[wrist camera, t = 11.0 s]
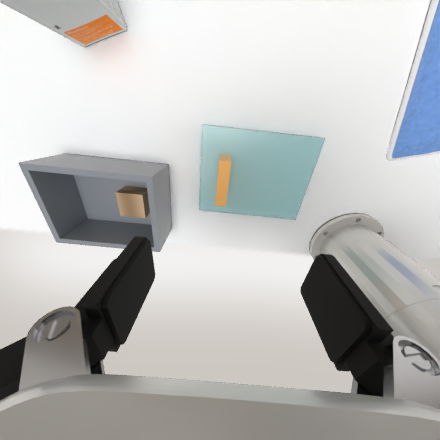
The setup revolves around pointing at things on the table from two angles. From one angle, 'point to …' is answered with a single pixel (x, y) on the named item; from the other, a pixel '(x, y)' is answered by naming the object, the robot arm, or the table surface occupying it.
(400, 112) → the tablet computer
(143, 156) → the table surface
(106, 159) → the tub
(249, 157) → the lid
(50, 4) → the skincare box
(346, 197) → the table surface
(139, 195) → the part block
